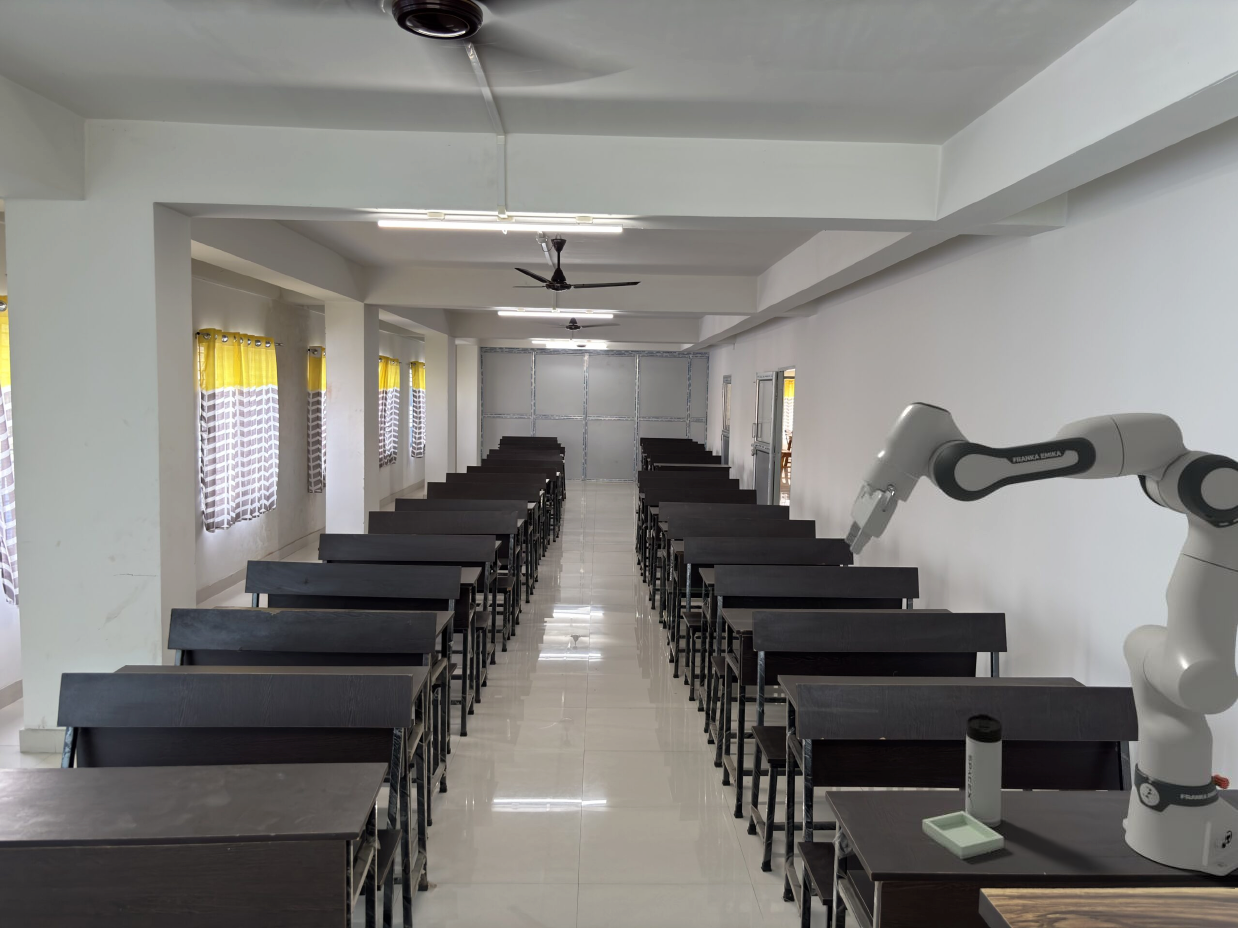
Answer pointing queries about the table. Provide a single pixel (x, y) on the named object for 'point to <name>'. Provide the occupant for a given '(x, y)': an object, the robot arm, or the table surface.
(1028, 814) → the table surface
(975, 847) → the tray
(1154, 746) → the robot arm
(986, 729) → the travel mug
